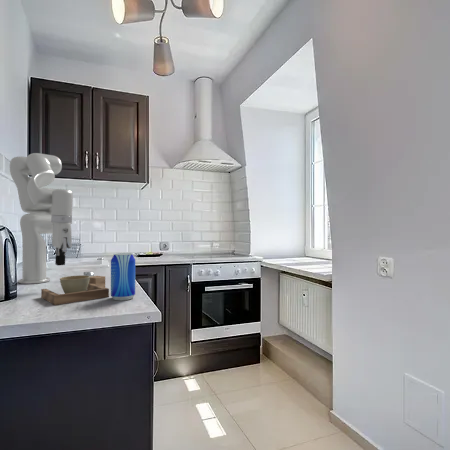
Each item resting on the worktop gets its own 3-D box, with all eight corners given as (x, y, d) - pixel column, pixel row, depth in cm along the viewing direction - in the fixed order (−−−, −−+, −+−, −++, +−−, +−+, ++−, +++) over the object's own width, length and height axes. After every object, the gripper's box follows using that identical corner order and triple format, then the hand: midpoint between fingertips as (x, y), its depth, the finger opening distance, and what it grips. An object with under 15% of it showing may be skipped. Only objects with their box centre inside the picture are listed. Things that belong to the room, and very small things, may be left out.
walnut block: (86, 289, 135) (86, 277, 135) (96, 287, 139) (96, 275, 139) (95, 290, 132) (95, 278, 132) (105, 288, 137) (105, 276, 137)
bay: (41, 297, 119) (41, 289, 119) (91, 290, 131) (91, 283, 132) (54, 305, 108) (54, 296, 108) (108, 296, 120) (108, 288, 120)
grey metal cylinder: (82, 286, 142) (82, 272, 142) (91, 285, 144) (91, 271, 144) (85, 287, 139) (85, 273, 139) (95, 286, 141) (95, 272, 141)
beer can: (110, 296, 121) (110, 253, 121) (134, 295, 124) (134, 252, 124) (111, 301, 113) (111, 254, 113) (136, 299, 116) (136, 254, 116)
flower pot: (80, 293, 127) (80, 274, 127) (95, 296, 121) (95, 276, 121) (54, 297, 119) (54, 277, 119) (68, 301, 113) (68, 280, 113)
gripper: (77, 221, 130) (76, 267, 131) (65, 219, 141) (64, 261, 142) (57, 220, 125) (55, 268, 126) (46, 218, 136) (44, 262, 137)
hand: (60, 264), depth 134 cm, fingers closed
